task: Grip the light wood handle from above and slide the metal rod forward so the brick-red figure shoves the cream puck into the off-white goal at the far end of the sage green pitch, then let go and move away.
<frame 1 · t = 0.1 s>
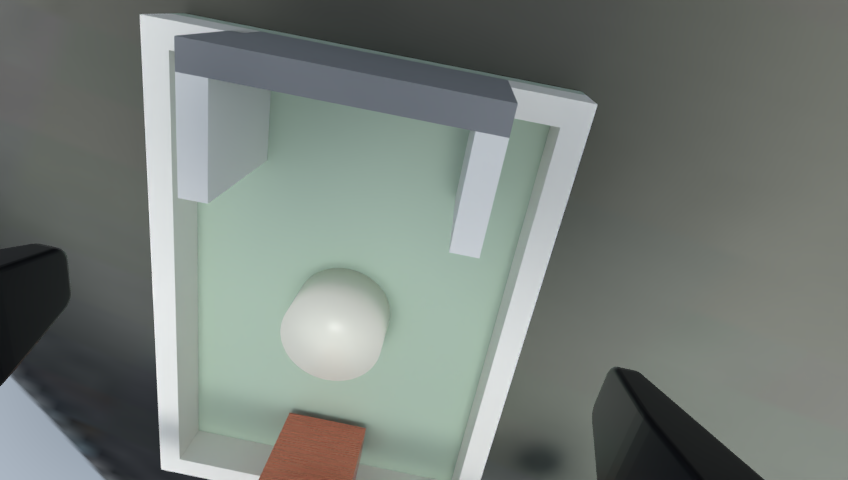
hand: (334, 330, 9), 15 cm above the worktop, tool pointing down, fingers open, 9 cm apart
pitch: (349, 290, 25), on the worktop
puck: (343, 309, 25), point 1 cm above the worktop, touching pitch
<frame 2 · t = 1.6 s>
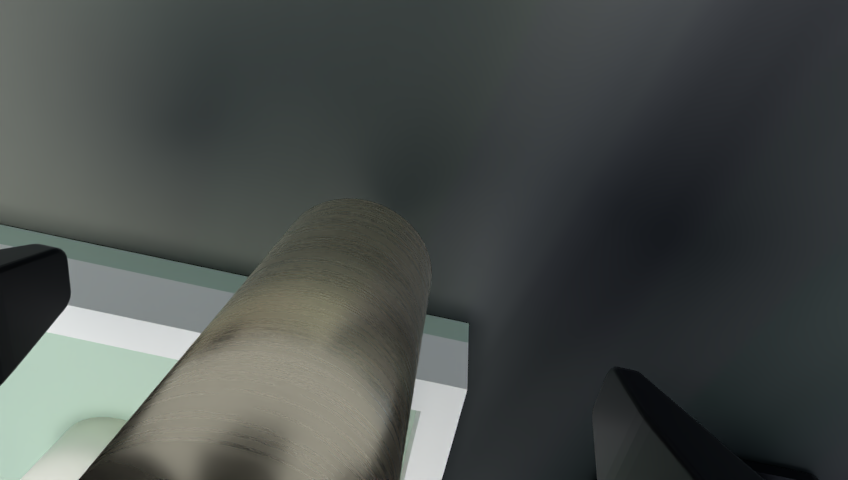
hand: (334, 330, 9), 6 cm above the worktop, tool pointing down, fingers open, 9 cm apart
pitch: (126, 441, 19), on the worktop
puck: (123, 465, 18), point 1 cm above the worktop, touching pitch
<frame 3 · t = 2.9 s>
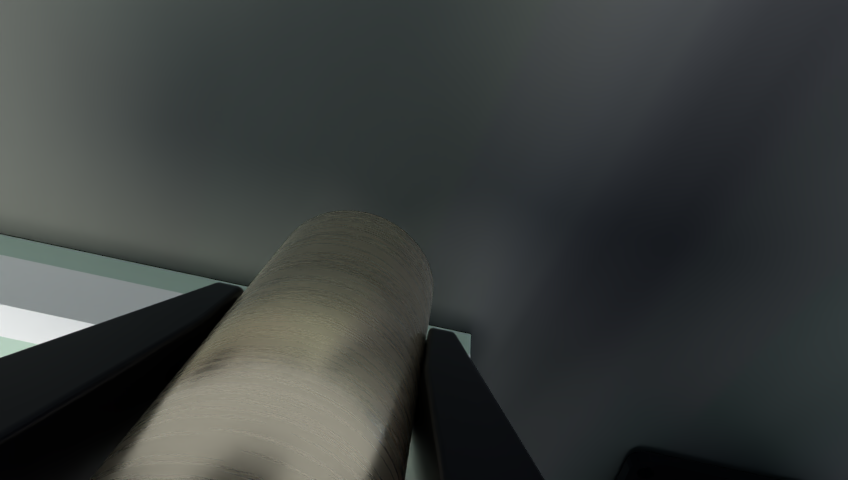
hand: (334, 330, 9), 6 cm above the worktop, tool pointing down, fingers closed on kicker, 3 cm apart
pitch: (121, 452, 19), on the worktop
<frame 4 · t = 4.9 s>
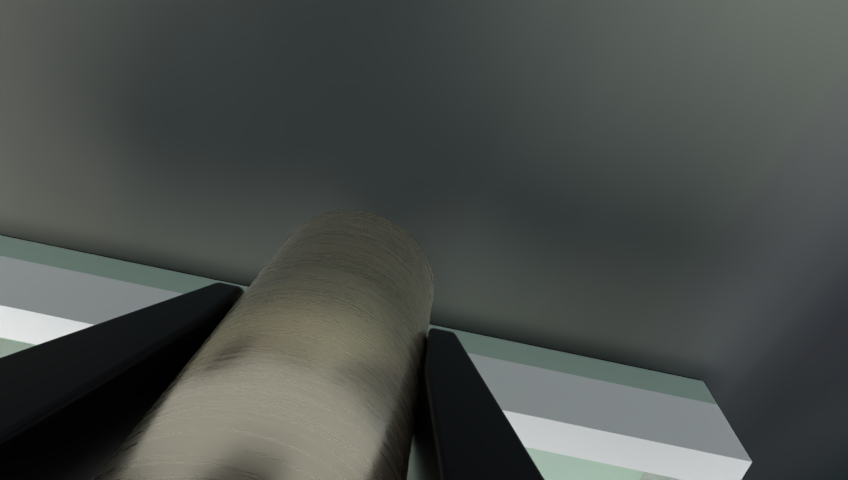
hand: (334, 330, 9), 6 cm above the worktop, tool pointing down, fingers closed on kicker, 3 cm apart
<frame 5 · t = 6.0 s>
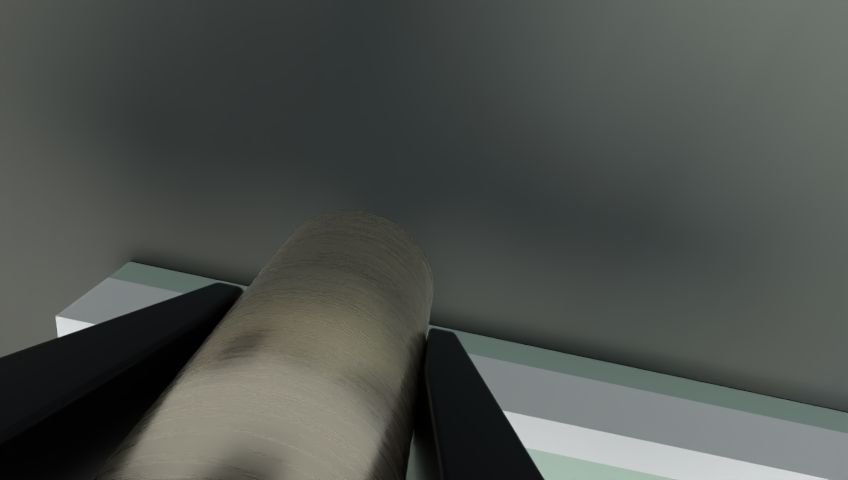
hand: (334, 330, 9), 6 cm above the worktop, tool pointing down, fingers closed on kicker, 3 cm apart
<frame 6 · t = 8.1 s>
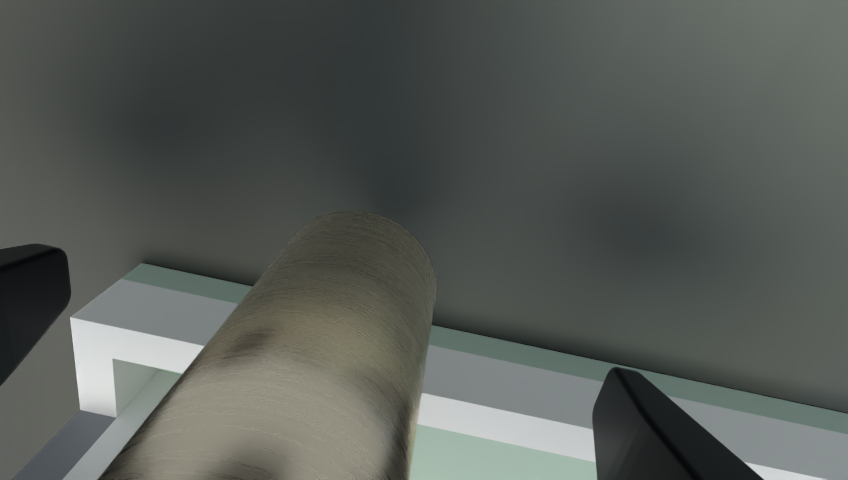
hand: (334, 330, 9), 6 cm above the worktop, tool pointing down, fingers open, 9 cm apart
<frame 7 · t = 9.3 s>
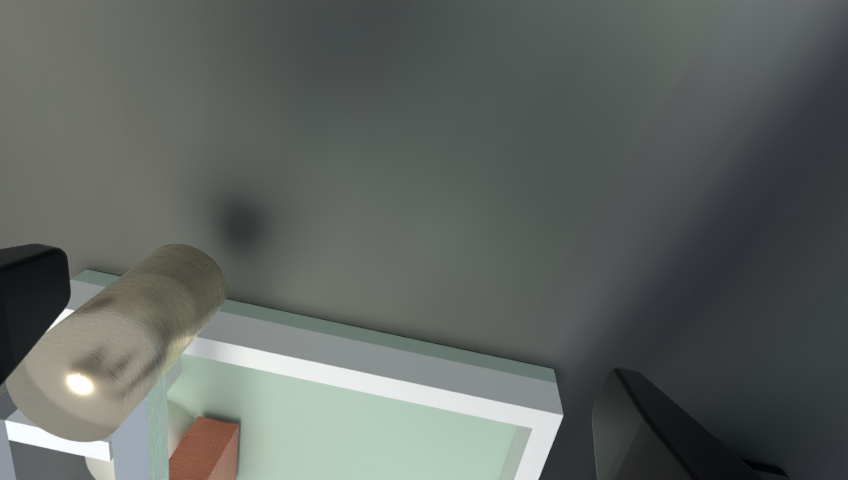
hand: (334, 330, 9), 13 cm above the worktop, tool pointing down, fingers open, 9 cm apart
pitch: (303, 445, 27), on the worktop
puck: (159, 430, 27), point 1 cm above the worktop, touching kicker, pitch
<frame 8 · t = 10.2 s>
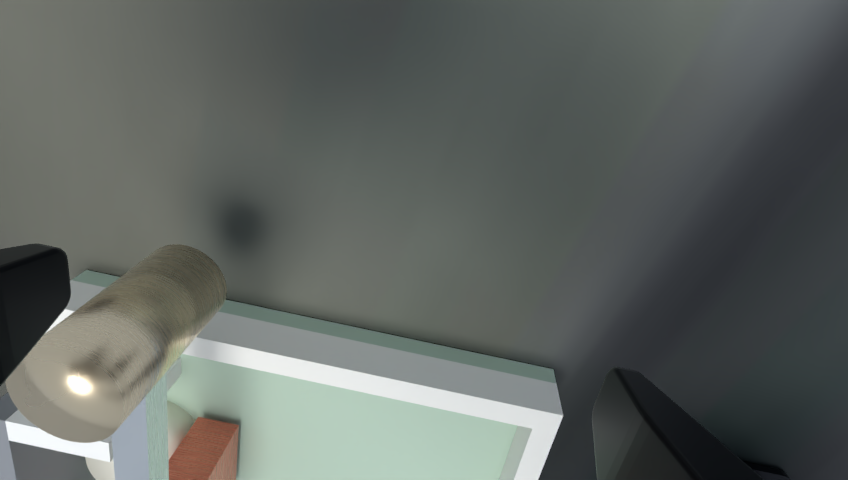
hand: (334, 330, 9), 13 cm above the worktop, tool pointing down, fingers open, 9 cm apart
pitch: (303, 446, 27), on the worktop
puck: (159, 430, 27), point 1 cm above the worktop, touching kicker, pitch
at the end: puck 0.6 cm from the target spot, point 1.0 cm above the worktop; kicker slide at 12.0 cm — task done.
